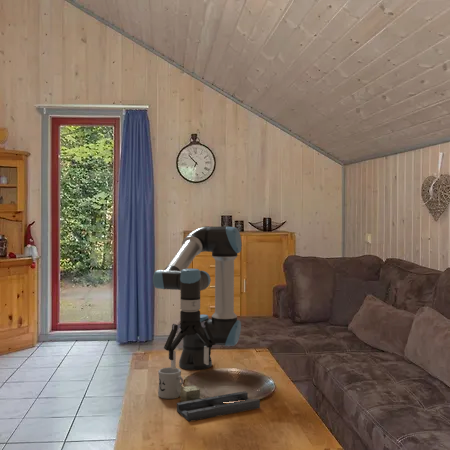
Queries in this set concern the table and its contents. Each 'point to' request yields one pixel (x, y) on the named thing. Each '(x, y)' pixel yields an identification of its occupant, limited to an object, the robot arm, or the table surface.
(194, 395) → the brushed top tan cube
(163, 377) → the mug
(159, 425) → the table surface
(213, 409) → the rail
